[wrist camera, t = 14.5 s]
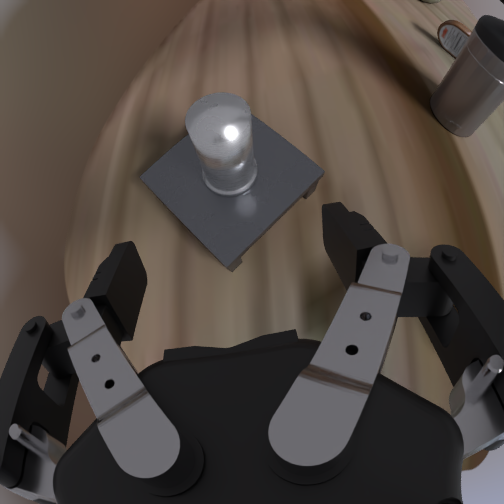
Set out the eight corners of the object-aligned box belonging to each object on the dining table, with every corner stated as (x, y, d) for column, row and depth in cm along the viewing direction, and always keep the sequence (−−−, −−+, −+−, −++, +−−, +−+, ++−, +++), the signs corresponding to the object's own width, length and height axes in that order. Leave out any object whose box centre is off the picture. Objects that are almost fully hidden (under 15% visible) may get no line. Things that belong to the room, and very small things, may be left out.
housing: (231, 140, 31) (220, 80, 22) (268, 171, 30) (270, 114, 21) (192, 173, 30) (167, 120, 21) (229, 207, 29) (214, 159, 20)
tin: (488, 83, 39) (505, 60, 31) (484, 87, 39) (502, 63, 31) (435, 37, 42) (448, 12, 34) (430, 40, 42) (443, 13, 34)
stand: (235, 124, 37) (231, 100, 32) (317, 190, 35) (324, 171, 30) (154, 194, 35) (139, 177, 30) (232, 274, 33) (226, 267, 28)
